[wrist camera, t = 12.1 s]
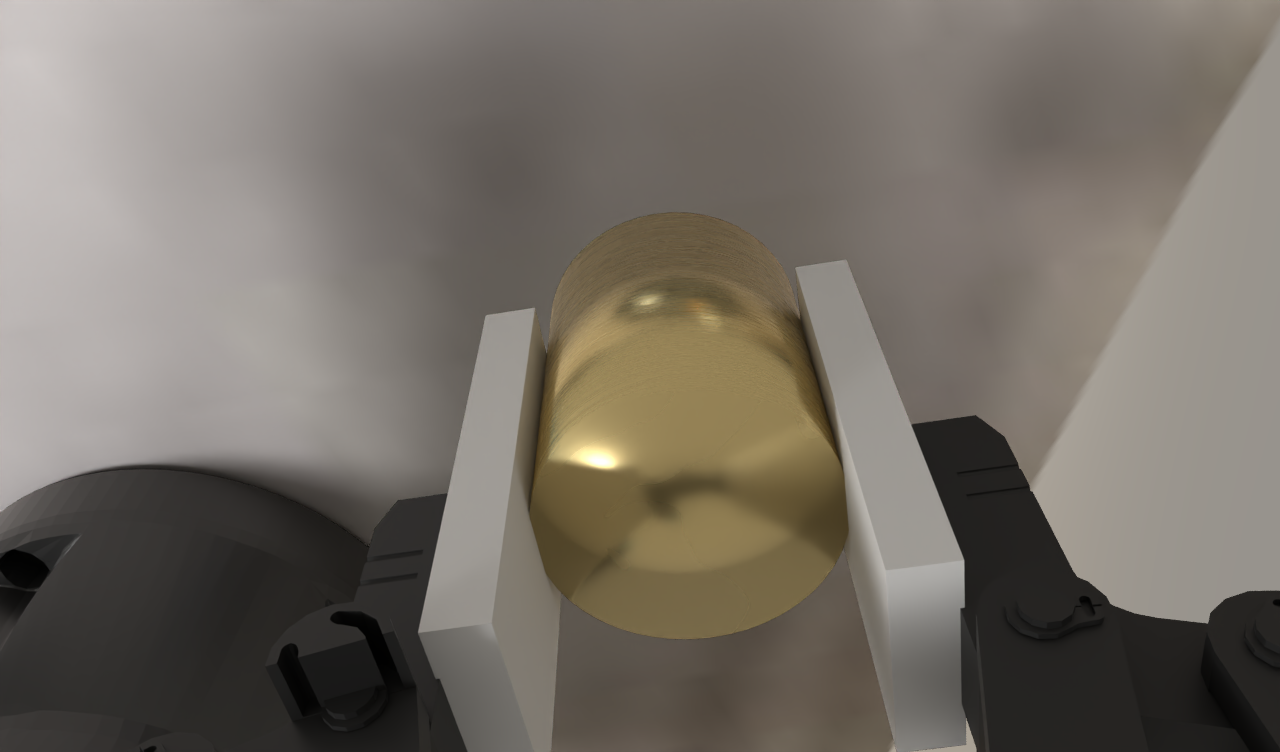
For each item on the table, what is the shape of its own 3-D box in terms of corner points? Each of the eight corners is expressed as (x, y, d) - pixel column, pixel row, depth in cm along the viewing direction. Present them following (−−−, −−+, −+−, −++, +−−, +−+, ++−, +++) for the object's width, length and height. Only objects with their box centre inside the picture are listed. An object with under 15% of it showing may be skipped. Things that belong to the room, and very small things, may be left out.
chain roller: (737, 452, 19) (771, 667, 15) (520, 387, 18) (490, 595, 14) (837, 259, 17) (908, 445, 13) (598, 178, 16) (590, 348, 12)
